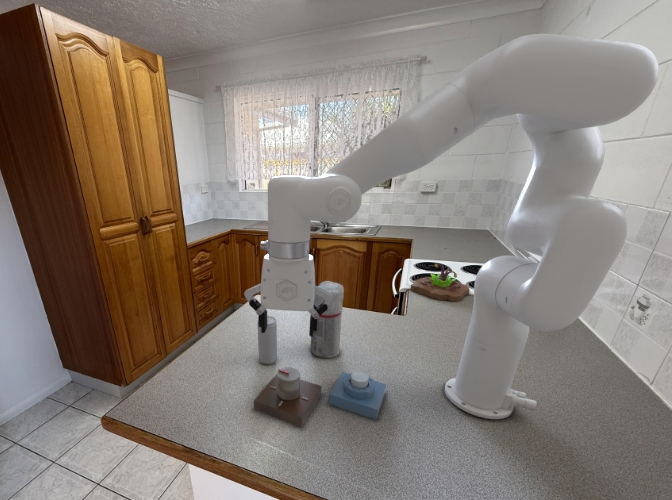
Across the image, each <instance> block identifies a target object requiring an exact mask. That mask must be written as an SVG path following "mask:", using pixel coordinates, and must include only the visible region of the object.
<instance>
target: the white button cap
mask: <svg viewBox="0 0 672 500" xmlns="http://www.w3.org/2000/svg"><path fill="white" fill-rule="evenodd" d="M351 373H352V374H351ZM351 373H350V374H351V385H352V386H353V387H355V388H359V389H365V388H366V387H367V386H368V379H369V378H368V376H369V375H368V374H367V373H365V372H362V371H354V372H351Z"/></svg>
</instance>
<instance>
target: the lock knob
mask: <svg viewBox="0 0 672 500" xmlns="http://www.w3.org/2000/svg"><path fill="white" fill-rule="evenodd" d="M276 374H277V387H278V395H279V397H280V398H282V399H284V400H294V399H296V398H297V397H298V396H299V395H300V379H301V372H300V370H298V368H295V367H291V366H286V367H285V366H284V367H282V368H278V370H277V373H276Z"/></svg>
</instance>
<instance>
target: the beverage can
mask: <svg viewBox="0 0 672 500" xmlns="http://www.w3.org/2000/svg"><path fill="white" fill-rule="evenodd" d="M277 326H278V325H277V320H276V318H275V317H273V316H270V315H267V329H266V331H265V333H261V327H259V324H258V323H257V343H258V344H257V345H258V360H259V362H260V363H261V364H263V365H272V364H274V363H276V361H277V359H278V339H277V338H278V337H277V334H278V333H277Z"/></svg>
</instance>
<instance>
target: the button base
mask: <svg viewBox="0 0 672 500" xmlns="http://www.w3.org/2000/svg"><path fill="white" fill-rule="evenodd" d="M352 373H353V372H351V373H349V372H345V371H341V373H340V375H339V377H338V378H337V380H336V382H335V384H334V386H333V387H332V389H331V391H330V393H329V396H328V397H329V399H328V405H331V406H334V407H337V408H340V409H342V410H346V411H349V412H352V413H354V414H357V415H361V416H362V417H363V416H364V417H367V418H368V419H372V420H375V421H377V419H378V416H379V413H380V410H381V406H382V403H383V400H384V398H385V393H386V388H387V384H386V383H383V382H381V381H376V380H374V379H373V378H371V377H370V376H369V375H367V376H368V378H369V379H368V386H367V387H366V388H365V389H359V388H355V387H353V386H352V385H351V374H352Z"/></svg>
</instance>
